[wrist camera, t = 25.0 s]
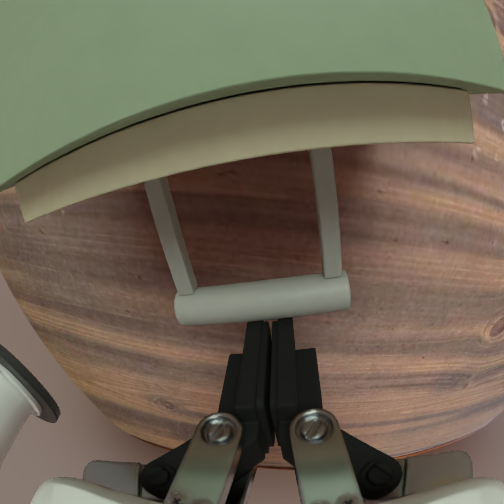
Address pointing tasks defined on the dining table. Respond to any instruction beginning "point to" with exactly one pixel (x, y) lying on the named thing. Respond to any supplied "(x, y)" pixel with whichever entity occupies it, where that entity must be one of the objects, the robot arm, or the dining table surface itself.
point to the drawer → (245, 147)
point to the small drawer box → (213, 59)
